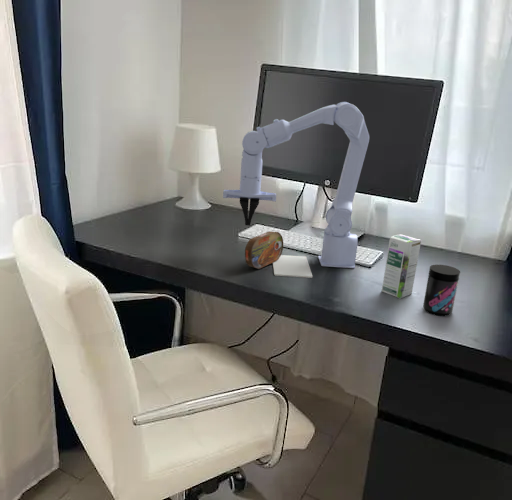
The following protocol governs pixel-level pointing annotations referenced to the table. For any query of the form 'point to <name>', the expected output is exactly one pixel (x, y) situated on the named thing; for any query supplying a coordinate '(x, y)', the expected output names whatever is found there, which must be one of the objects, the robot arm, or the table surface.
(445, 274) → the supplement container
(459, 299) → the table surface
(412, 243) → the syrup box
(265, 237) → the tin
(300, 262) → the white flat panel
